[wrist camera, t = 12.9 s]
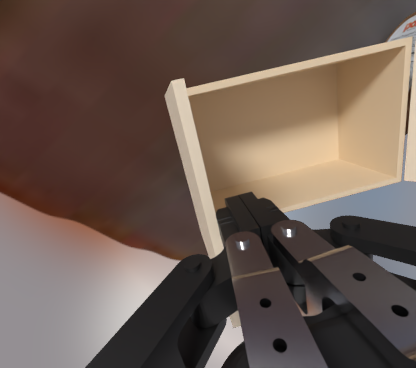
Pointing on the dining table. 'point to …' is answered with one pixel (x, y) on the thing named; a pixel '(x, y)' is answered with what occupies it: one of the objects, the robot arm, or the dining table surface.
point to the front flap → (195, 170)
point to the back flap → (411, 132)
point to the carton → (306, 127)
